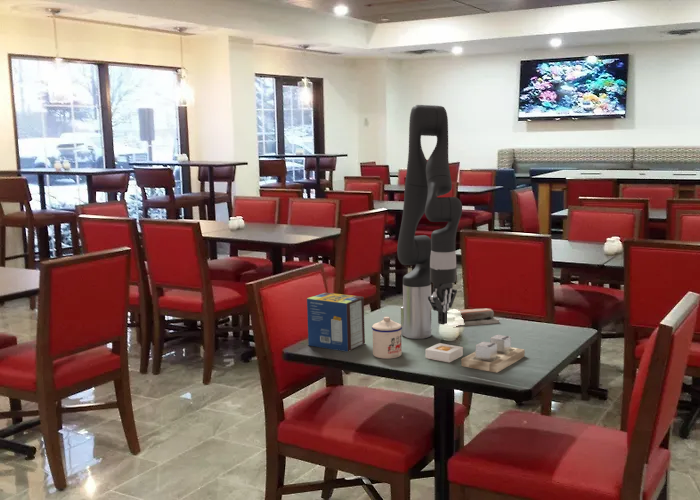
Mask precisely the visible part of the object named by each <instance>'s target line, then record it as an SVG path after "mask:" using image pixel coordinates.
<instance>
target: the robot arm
mask: <svg viewBox="0 0 700 500" xmlns="http://www.w3.org/2000/svg"><path fill="white" fill-rule="evenodd" d="M408 124H409V125H408V126H409V127H408V128H409V129H408V130H409V131H408V154H407V155H408V156H407V164H406V165H407V166H406V175H405V184H404V193H403V194H404V196H403V198H404V199H403V209H402V217H401V224H400V228H399V234H398V240H397V247H396V248H397V249H396V250H397V251H396V253H397V259H398V261H399V263H400V264H401V265H403V266H413V265H415V266H414V268H413V269H412V270H411V271H410V272H408V273H406V274H404V275H403V277H402V298H403V299H402V306H401V307H400V324H401V326H402V329H401V336H404V337H405V338H407V339H413V340H414V339H415V340H416V339H417V340H420V339H428V338H430V337H432V330H433V328H432V310H433V311H434V312H435V311H437V323H438V324H439V325H446V324H447V311H449V309H451V308H452V307H453V304H454V302H455V298H456V295H457V293H458V290H457V289H455V288H453V287H454V286H453V284H454V283H456V281H457V254H456V237H457V232H458V227H459V222H460V220H461V217H462V212H463V204H462V201H461V200H460V199H459V197H456V196H445V197H443V196H444V195H447V194H449V193H450V192H451V190H452V189H453V182H452V177H451V171H450V163H449V162H450V161H449V118H448V113H447V111H446V108H445V107H444V106H442V105H431V104H430V105H427V104H414V105H413V107H411V110H410V114H409V123H408ZM422 136H423V137H426V136H427V137H436V144H435V147H434V149H433V150H432V152H431V154H430V156H429V157H428V160H427V158H426V156H425V153H424V151H423V147H422V141H421V139H422ZM440 196H441V197H440ZM424 215H425V217H426V219H427V220H428V221H429V222H431V223H439V222H440V223H446V222H447V224H446V225H445V227H443V228H439V229H435V230H433V231H432V232H431V235H430V236H428V235H425V234H423V235H416V231H417V228H418V225H419V222H420V221H421V219H422V217H423V216H424ZM432 284H433V286H432Z"/></svg>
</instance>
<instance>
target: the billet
mask: <svg viewBox="0 0 700 500" xmlns="http://www.w3.org/2000/svg"><path fill="white" fill-rule="evenodd" d="M511 339H512V336H511V335H510V336H509V335H502V334H496V335H493V336H492V337H490V342H489V343H495V344H497V353H499V354H505V355H506V354H508V353H510V352H511V347H512V346H511V345H512V340H511Z"/></svg>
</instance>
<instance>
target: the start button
mask: <svg viewBox="0 0 700 500" xmlns="http://www.w3.org/2000/svg"><path fill="white" fill-rule="evenodd" d="M438 350H443V351H448V350H450V347H438Z"/></svg>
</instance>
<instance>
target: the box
mask: <svg viewBox="0 0 700 500" xmlns="http://www.w3.org/2000/svg"><path fill="white" fill-rule="evenodd" d="M438 347H450V350H448V351H443V350H438ZM424 350H425V352H424V353H425V359H429V360H434V361H438V362H439V361H440V362H444V363H451V362H453V361H455V360H457V359H459V358H461V357H463V355H464V353H463V351H464V347H463V346H460V345H459V346H458V345H455V344H454V345H453V344H448V343H447V344H446V343H441V342H439V343H436V344H434V345H432V346H430V347H427V348H425V349H424Z"/></svg>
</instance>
